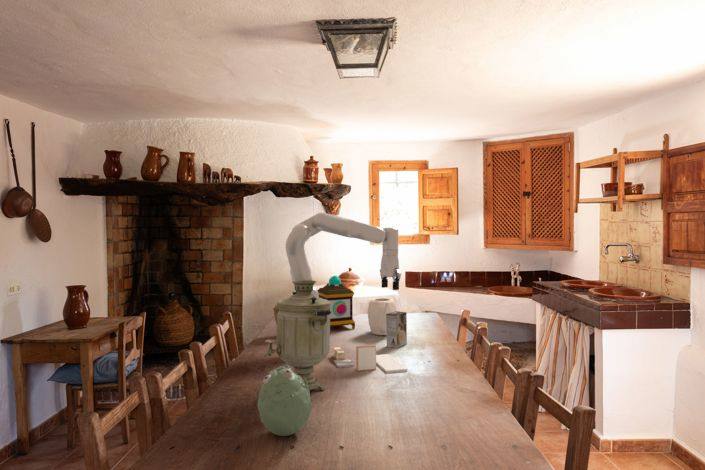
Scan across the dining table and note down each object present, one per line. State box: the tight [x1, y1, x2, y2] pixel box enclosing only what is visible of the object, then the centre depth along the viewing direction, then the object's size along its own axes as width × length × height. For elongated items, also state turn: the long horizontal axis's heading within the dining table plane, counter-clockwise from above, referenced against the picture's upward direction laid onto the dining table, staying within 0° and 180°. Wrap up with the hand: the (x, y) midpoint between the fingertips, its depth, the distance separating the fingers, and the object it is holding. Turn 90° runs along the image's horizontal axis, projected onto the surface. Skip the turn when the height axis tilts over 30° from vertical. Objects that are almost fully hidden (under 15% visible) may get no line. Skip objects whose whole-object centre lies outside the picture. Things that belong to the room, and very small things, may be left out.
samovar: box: [262, 279, 332, 392], centre depth 190 cm, size 30×26×40 cm
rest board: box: [376, 353, 408, 374], centre depth 224 cm, size 9×24×1 cm, turn 15°
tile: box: [355, 344, 377, 372], centre depth 216 cm, size 8×2×10 cm, turn 105°
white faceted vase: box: [367, 297, 398, 336], centre depth 281 cm, size 16×27×19 cm, turn 7°
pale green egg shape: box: [257, 364, 313, 437], centre depth 153 cm, size 16×19×20 cm
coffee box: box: [386, 310, 408, 349], centre depth 257 cm, size 9×6×16 cm
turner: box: [332, 346, 355, 369], centre depth 229 cm, size 18×7×4 cm, turn 15°
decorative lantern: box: [317, 275, 356, 330], centre depth 298 cm, size 20×20×30 cm
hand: (390, 288), depth 252 cm, fingers open, 9 cm apart
